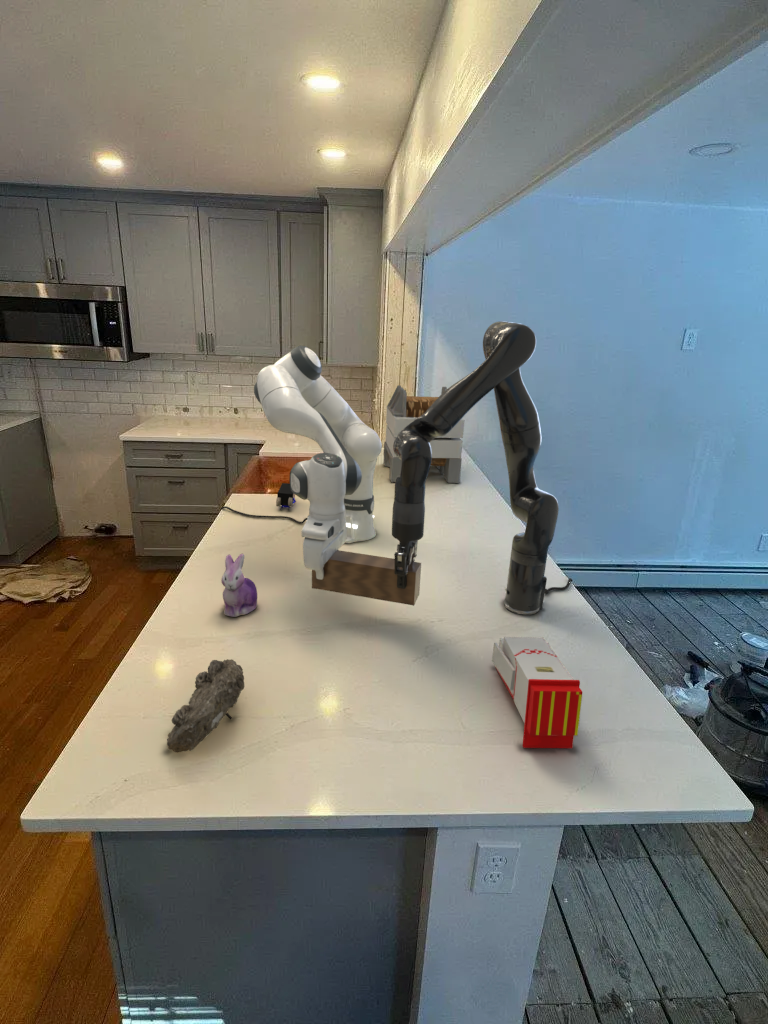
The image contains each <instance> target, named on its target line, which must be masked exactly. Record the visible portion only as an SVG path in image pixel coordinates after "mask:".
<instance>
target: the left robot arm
mask: <svg viewBox="0 0 768 1024" xmlns="http://www.w3.org/2000/svg"><path fill="white" fill-rule="evenodd" d="M322 368H323V364H322V362H321V360H320V358H319V357H318V355H317V353H316V352H315V351H313V350H312V349H311V348H310V347H308V346H306V345H302V344H301V345H298V346H296V347H294V348H292V349H290V351H289V352H287V353H286V354H285V355H283V356H282V357H281V358H279V359H277V361H275V362H274V364H269V365H266V366H264V367H263V368H262V369H261V370H260V371H259V372H258V374H257V376H256V382H255V383H254V386H253V394H254V396H255V399H256V400H257V401H258V402H259V404H260V405H261V408H262V410H263V413H264V415H265V419H266V420H267V421H268V423H269V424H270V425H271V426H272V427H273V428H274V429H276V430H278V431H279V432H282V433H286V434H292V435H297V436H301V437H305V438H308V439H311V440H312V441H314V442H316V444H318V446H319V447H320V449H321V450H322V452H320V453H316V454H314V455H313V456H312V457H311V458H310V459H308V460H307V459H306V460H302V461H298V462H296V463H295V464H294V465H293V466H292V467H291V470H290V471H289V484H290V489H291V491H292V492H293V493H294V494H295V497H298V498H300V499H301V500H304V501H306V500H307V501H309V507H308V515H307V517H305V518H304V519H303V520H302V521H298V520H296V519H295V518H294V517H290V516H287V515H286V516H285V515H258V514H249V513H244V512H241V511H239V510H236V509H233V508H231V507H230V506H225V505H224V506H222V507H221V508H220V510H221V511H222V510H224V509H226V510H229V511H230V512H233V513H235V514H239V515H240V516H241V515H242V516H246V517H249V518H264V519H265V518H267V519H287V520H290V521H292V522H294V523H296V524H298V525H303V524H304V525H303V527H302V528H301V538H304V539H303V541H302V559H303V566H304V567H305V569H307V570H311V571H312V570H315V571H316V578H317V579H321V580H322V579H323V578H324V577H325V571H324V570H323V567H324V564H325V563H326V562H327V561H328V560H329V559H330V558H331V556H332V555H333V554H334V553H335V552H336V551H337V550H340V548H341V547H342V546H344V544H352V543H357V542H365V541H368V540H372V539H373V538H375V537H376V535H377V532H376V528H375V523H374V518H375V515H374V513H373V512H374V509H375V496H374V476H375V470H376V465H377V462H378V458H379V456H380V455H381V452H382V448H383V445H382V444H383V443H382V441H381V438H380V436H379V434H378V433H377V431H376V430H374V429H373V428H372V427H370V426H369V425H367V424H366V423H364V421H362V420H361V418H360V417H359V416H358V415H357V413H355V411H354V410H353V409H352V407H351V406H350V405H349V403H348V402H347V401H346V400H345V399H344V398H343V396H341V395H340V393H339V392H338V391H337V390H336V389H335V388H334V387H333V385H332V384H330V382H329V381H328V380H327V379H326V378H325V377H324V376H322V375H321V374H322V370H323V369H322Z"/></svg>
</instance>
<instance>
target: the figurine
mask: <svg viewBox="0 0 768 1024" xmlns="http://www.w3.org/2000/svg"><path fill="white" fill-rule="evenodd" d="M244 563H245V554H244V553H240V554H239V555H238V556H237V558H236V559H235V560H234V558H233V557H232V555H231V554H227V555H226V556H225V560H224V564H225V565H224V566H225V567H224V568H225V570H224V572H223V574H222V576H221V579H220V580H221V584H222V586H223V587H224V589H223V591H222V599H223V603H224V611H223V613H224V615H225V616H228V617H234V618H236V617H239V616H245V615H248V614H249V613H251V612H253V611H254V610H256V609H257V606H258V590H257V589H258V588H257V586H256V584H255V583H254V581H253V580H252V579H250V578H248V577H245V575H244V573H243V571H242V569H243V566H244Z"/></svg>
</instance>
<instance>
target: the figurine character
mask: <svg viewBox="0 0 768 1024" xmlns="http://www.w3.org/2000/svg"><path fill="white" fill-rule="evenodd" d="M276 495H277V497H276V502H275V503H276V504H275V505H276V507H280V508H279V510H280V511H283V509H287V511H290V509H291V507H293V506H294V504H295V503H296V495H295V494H294V493H293V492H292V491H291V489H290V483H286V482H283V483H281V485H280V487H279V489H278V491H277V494H276Z"/></svg>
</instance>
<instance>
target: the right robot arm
mask: <svg viewBox="0 0 768 1024" xmlns="http://www.w3.org/2000/svg"><path fill="white" fill-rule="evenodd" d="M536 347H537V337H536V334H535V332H534V330H533V329H532V328H531V327H530V326H528V325H526V324H523V323H520V322H512V321H507V320H506V321H504V320H501V321H495V322H493V323H492V324H490V325H489V326H488V327H487V328H486V330H485V332H484V334H483V338H482V351H483V355H484V359H485V360H483V362H482V363H481V364H480V365H478V367H477V368H475V369H474V370H472V371H471V372H470V373H468V374H467V375H466V376H464V377H462V378H461V379H459V380H457V382H455V383H454V384H452V385H451V386H449V387H448V388H447V390H446V391H444V392H443V393H442V394H440V395H439V396H437V397H438V399H437V400H436V401H435V402H434V403H433V404H432V405H431V406H430V408H428V409H427V411H426V412H425V413H424V414H423V415H421V416H420V417H418V418H417V419H415V420H414V421H413V422H411V423H410V424H409V425H407V426H406V427H405V428H404V429H403V430H402V431H401V432H400V433H399V434H398V435H397V437H396V438H395V440H394V444H393V450H394V453H395V455H396V456H397V457H398V458H399V459H400V460H402V466H401V473H400V474H399V475H398V476H397V477H396V480H395V482H394V498H393V504H392V516H391V517H392V518H391V536H392V537H393V538H394V539H396V540H398V541H399V543H397V545H396V551H395V552H394V559H395V571H394V573H395V575H397V587H398V588H401V589H405V588H406V585H407V574H408V566H409V565H411V561H412V562H416V557H417V554H418V553H417V552H418V541H420V540H421V539H423V537H424V530H425V517H426V516H425V515H426V514H425V513H426V506H425V505H426V504H425V502H426V501H425V497H426V482H427V479H428V476H429V472H430V468H431V466H432V465H431V460H432V450H431V445H430V442H431V441H432V440H433V439H434V438H436V437H440V436H445V435H446V434H447V433H448V432H450V431H451V430H452V428H453V427H454V426H455V425H456V424H457V423H458V422H459V421H460V420H461V419H464V417H465V416H466V414H468V412H469V411H470V410H471V409H472V408H474V407H475V405H477V404H478V403H479V402H480V401H481V400H482V399H483V398H484V397H486V396H487V395H488V394H489V393H490V392H491V391H493V392H494V398H495V405H496V410H497V415H498V422H499V428H500V429H499V430H500V435H501V440H502V444H503V450H504V455H505V463H506V468H507V474H508V484H509V485H508V486H509V501H510V502H509V503H510V509H511V511H512V514H513V515H514V516H515V517H516V518H517V519H519V520H520V521H521V522H524V523H525V524H526V525H525V530H524V532H519V533H516V534H514V536H513V538H512V543H511V551H510V556H509V557H510V559H509V566H508V573H507V580H506V581H507V582H506V586H505V587H504V588H505V589H504V590H505V595H504V602H503V605H504V608H506V609H507V610H508V611H510V612H512V613H514V614H517V615H522V616H531V615H535V614H537V613H539V612H540V611H542V610H543V605H544V600H545V595H546V594H548V593H550V592H551V591H564V590H566V589H568V588H569V587H570V584H571V583H572V582H573V579H572V578H571V577H569V578H568V579H567V583H566V585H565V586H561V587H559V586H551V587H549V588H548V589H547V581H548V577H547V576H545V574H546V566H547V559H548V554H549V553H548V552H549V547H550V545H552V542H553V540H554V536H555V531H556V527H557V522H558V518H559V510H560V508H559V501H558V499H557V498H556V496H555V495H553V494H551V493H550V492H547V491H545V490H542V489H540V488H539V487H538V485H537V482H536V476H535V462H536V459H537V457H538V455H539V453H540V450H541V446H542V440H543V439H542V431H541V430H542V429H541V423H540V417H539V412H538V409H537V407H536V405H535V403H534V401H533V399H532V397H531V395H530V394H529V391H528V389H527V387H526V385H525V383H524V380H523V378H522V373H521V368H522V367H523V366H524V365H525V364H526V363H527V362H528V361H529V360H530V359H531V358H532V356H533V354H534V353H535V351H536ZM406 561H407V562H406ZM400 567H402V568H403V569H400ZM569 582H570V583H569Z"/></svg>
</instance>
